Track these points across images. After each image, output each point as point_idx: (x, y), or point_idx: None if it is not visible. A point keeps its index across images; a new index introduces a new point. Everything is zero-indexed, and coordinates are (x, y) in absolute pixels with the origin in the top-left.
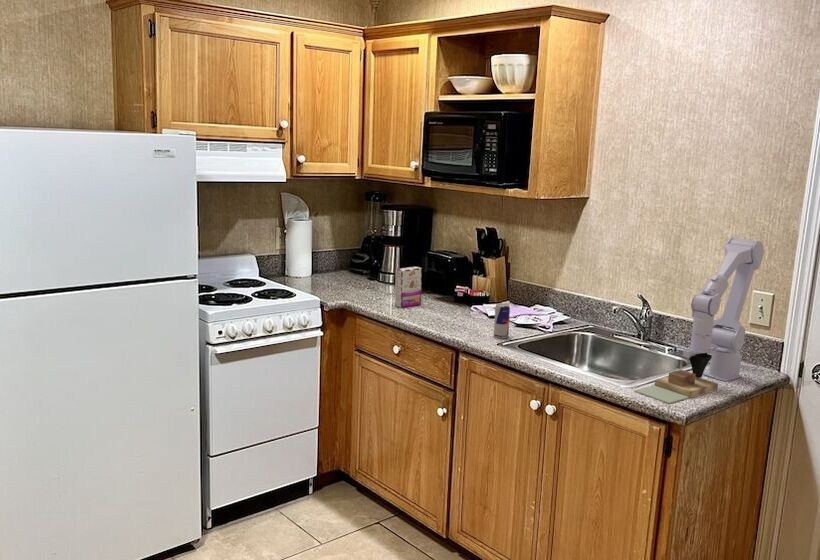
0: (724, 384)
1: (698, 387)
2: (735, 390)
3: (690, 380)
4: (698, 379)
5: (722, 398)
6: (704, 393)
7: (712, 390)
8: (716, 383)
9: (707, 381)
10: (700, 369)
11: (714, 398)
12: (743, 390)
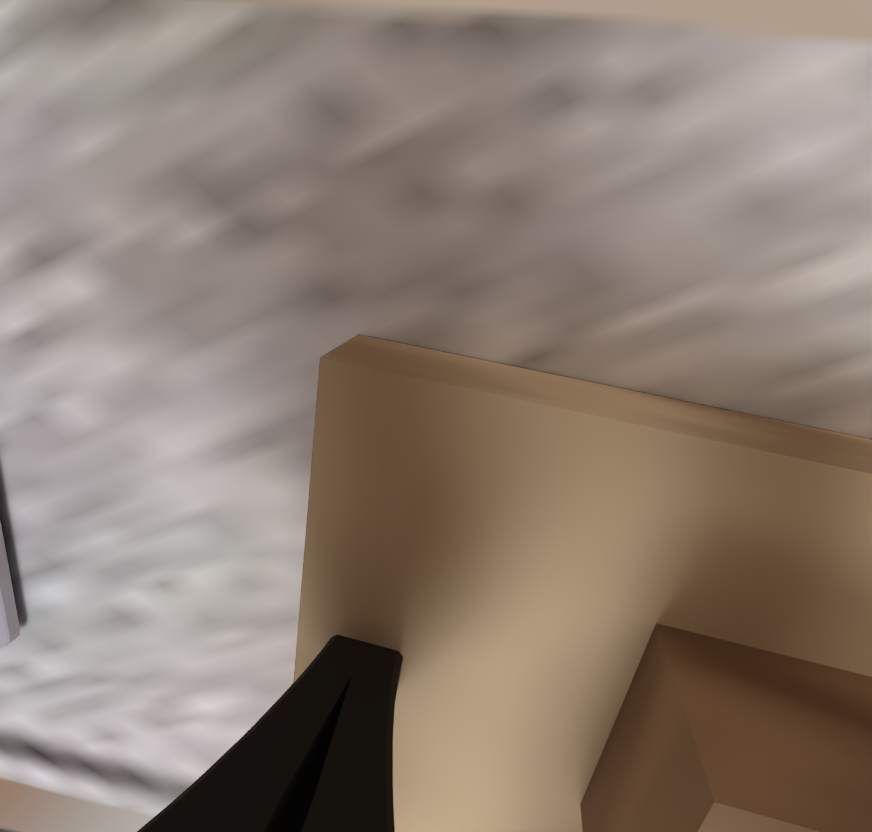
0: (64, 355)
1: (851, 524)
2: (143, 123)
3: (843, 735)
4: (385, 635)
5: (740, 73)
6: (692, 404)
7: (478, 363)
8: (338, 377)
9: (363, 517)
10: (389, 812)
11: (848, 183)
12: (31, 27)
